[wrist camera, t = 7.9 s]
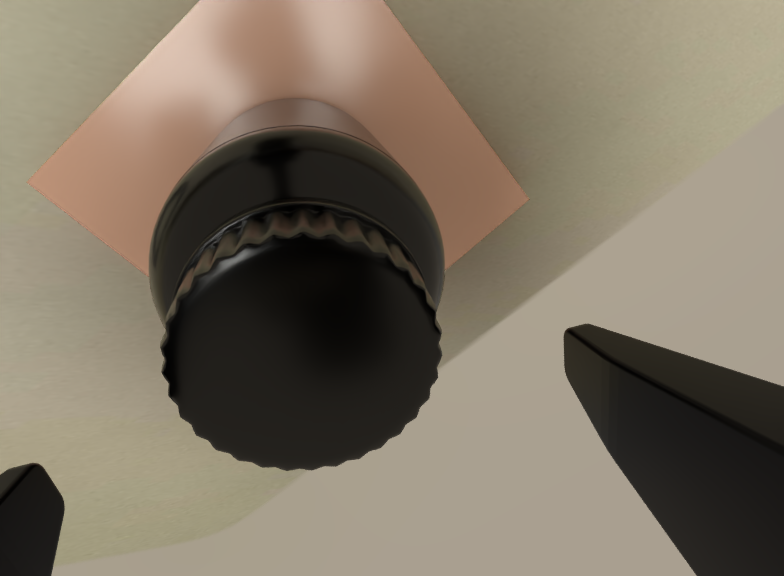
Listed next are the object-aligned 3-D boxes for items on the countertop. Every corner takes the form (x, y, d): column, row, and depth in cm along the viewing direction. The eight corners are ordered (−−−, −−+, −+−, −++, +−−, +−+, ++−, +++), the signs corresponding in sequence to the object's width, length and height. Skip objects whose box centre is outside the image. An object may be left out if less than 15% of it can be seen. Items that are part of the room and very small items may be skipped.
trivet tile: (303, -103, 16) (303, -109, 16) (521, 194, 22) (529, 199, 21) (36, 176, 19) (26, 182, 18) (298, 383, 24) (298, 393, 23)
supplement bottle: (425, 171, 20) (579, 321, 9) (321, 303, 22) (352, 560, 11) (271, 48, 17) (244, 64, 7) (165, 209, 19) (7, 429, 8)
